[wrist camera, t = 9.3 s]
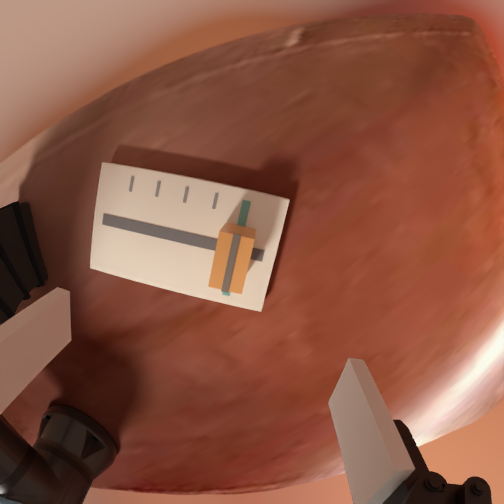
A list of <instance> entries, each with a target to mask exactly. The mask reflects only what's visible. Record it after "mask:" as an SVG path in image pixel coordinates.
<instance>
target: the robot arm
mask: <svg viewBox="0 0 504 504" xmlns="http://www.w3.org/2000/svg"><path fill="white" fill-rule="evenodd" d="M70 341H71V320H70V291H67V290H65V289H62V288H59V287H57V288H55V289H54V290H52V291H51V292H49V293H48V294H46V295H45V296H43V297H41V298H40V299H38V300H37V301H35V302H34V303H32V304H31V305H29V306H28V307H26V308H25V309H23V310H22V311H20V312H19V313H18V314H16V315H15V316H13V317H12V318H10V319H9V320H7V321H6V322H5V323H3V324H2V323H0V504H83V502H84V499H85V497H86V495H87V493H88V491H89V488H90V486H91V484H92V482H93V481H94V480H95V479H96V478H97V477H98V476H100V475H101V474H102V473H103V472H104V471H105V470H107V469H108V468H109V467H110V466H111V465H112V464H113V462H114V460H115V457H116V455H117V448H116V445H115V443H114V441H113V439H112V438H111V436H110V435H109V434H108V433H107V432H106V431H105V430H104V429H103V428H102V427H101V426H100V425H99V424H98V423H97V422H95V421H94V420H93V419H91V418H90V417H88V416H87V415H85V414H84V413H82V412H80V411H78V410H76V409H73V408H71V407H68V406H64V405H53V406H51V407H50V408H49V409H48V410H47V411H46V412H45V414H44V415H43V417H42V420H41V424H40V428H39V432H38V436H37V440H36V443H35V444H34V445H33V447H31V446H30V445H29V443H28V442H27V441H26V440H25V439H24V438H23V437H22V436H21V435H20V434H19V433H18V432H17V431H16V430H15V429H14V428H13V427H12V425H11V424H10V423H9V422H8V421H7V420H6V419H5V418H4V416H3V415H2V414H1V413H2V412H3V411H4V410H5V409H6V408H7V407H8V405H9V404H10V403H11V402H12V401H13V400H14V399H15V398H16V397H17V396H18V395H19V394H20V392H21V391H22V390H23V389H24V388H25V387H26V386H27V385H28V384H29V383H30V382H31V381H32V380H33V379H34V378H35V377H36V376H37V375H38V374H39V372H40V371H41V370H42V369H43V368H44V367H45V366H46V365H47V364H48V363H49V362H50V361H51V360H52V359H53V358H54V357H55V356H56V355H57V354H58V353H59V352H60V351H61V350H62V349H63V348H64V347H65V346H66V345H67V344H68V343H69V342H70ZM328 403H329V407H330V411H331V415H332V419H333V422H334V426H335V430H336V434H337V438H338V442H339V446H340V450H341V454H342V458H343V462H344V466H345V470H346V474H347V478H348V483H349V486H350V491H351V495H352V500H353V504H492V501H491V490H490V487H489V485H488V483H487V482H486V481H485V480H484V479H482V478H480V477H470V478H468V479H467V480H466V481H465V482H464V484H462V485H456V484H447V482H446V480H445V479H444V478H443V477H442V476H441V475H440V474H438V473H435V472H432V471H429V470H428V468H427V466H426V464H425V461H424V459H423V457H422V455H421V453H420V451H419V449H418V447H417V446H416V443H415V441H414V439H412V435H411V433H410V431H409V429H408V427H407V426H406V425H405V424H404V423H403V422H402V421H401V420H393V419H392V417H391V415H390V413H389V411H388V409H387V407H386V404H385V402H384V400H383V398H382V396H381V394H380V392H379V390H378V388H377V386H376V384H375V382H374V380H373V378H372V376H371V374H370V372H369V370H368V368H367V366H366V364H365V362H364V360H361V359H353V358H348V361H347V363H346V365H345V367H344V370H343V372H342V374H341V376H340V379H339V381H338V383H337V385H336V387H335V389H334V392H333V394H332V396H331V398H330V400H329V402H328Z"/></svg>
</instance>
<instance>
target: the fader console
mask: <svg viewBox="0 0 504 504" xmlns="http://www.w3.org/2000/svg"><path fill="white" fill-rule="evenodd" d="M289 201H290V200H289V199H288V198H284V197H280V196H276V195H272V194H267V193H263V192H259V191H255V190H250V189H246V188H241V187H237V186H232V185H228V184H223V183H218V182H214V181H209V180H204V179H199V178H194V177H189V176H184V175H179V174H173V173H168V172H163V171H157V170H152V169H146V168H140V167H135V166H129V165H122V164H116V163H107V162H102V166H101V172H100V178H99V185H98V192H97V199H96V207H95V215H94V224H93V234H92V246H91V259H90V268H92V269H95V270H98V271H102V272H105V273H109V274H112V275H116V276H119V277H123V278H126V279H130V280H134V281H137V282H141V283H145V284H148V285H152V286H156V287H160V288H163V289H167V290H171V291H175V292H179V293H183V294H187V295H191V296H195V297H199V298H203V299H207V300H212V301H216V302H220V303H224V304H229V305H233V306H237V307H242V308H246V309H251V310H255V311H260V312H261V310H262V306H263V302H264V299H265V295H266V291H267V287H268V284H269V280H270V276H271V272H272V268H273V264H274V260H275V257H276V253H277V249H278V245H279V241H280V237H281V233H282V229H283V225H284V221H285V217H286V213H287V209H288V205H289ZM226 222H227V223H232V224H236V225H240V226H245V227H249V228H253V229H256V233H255V241H254V245H253V249H252V253H251V257H250V262H249V266H248V270H247V274H246V279H245V283H244V287H243V291H242V294H238V293H233V292H229V291H228V293H226V292H222V291H221V289H216V288H212V287H208V285H209V279H210V274H211V269H212V264H213V259H214V254H215V249H216V245H217V240H218V235H219V231H220V229H221V228H222V227H223V225H224V224H225V223H226Z"/></svg>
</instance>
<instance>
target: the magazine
mask: <svg viewBox="0 0 504 504" xmlns="http://www.w3.org/2000/svg"><path fill="white" fill-rule="evenodd" d="M47 278H48V277H47V273H46V270H45V267H44V263H43V260H42V256H41V253H40V249H39V245H38V242H37V238H36V234H35V230H34V225H33V221H32V216H31V212H30V207H29V203H28V202H25V203H21V204H19V202H18V201H17V202H13V203H11V204H9V205H7V206H5V207H2V208H0V323H2V324H3V323H5V322H6V321H7V320H9V319H10V318H12V317H13V316H15V311H16V309H17V307H18V305H19V304H20V302H21V301H22V300H26V299H29V298H30V297H31V296H30V295H29V292H30V291H31V290H32V289H33V288H35V287H41V286H43V285H45V283H44V281H45V280H46V279H47Z"/></svg>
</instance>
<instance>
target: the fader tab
mask: <svg viewBox="0 0 504 504" xmlns="http://www.w3.org/2000/svg"><path fill="white" fill-rule="evenodd" d="M255 233H256V229H253V228H249V227H245V226H240V225H236V224H232V223H227V222H226V223H225V224H224V225H223V227H222V228H221V229H220V231H219V235H218V240H217V245H216V249H215V254H214V259H213V264H212V269H211V274H210V279H209V285H208V287H212V288H216V289H221V291H222V292H226V293H228V291H229V292H233V293H238V294H242V291H243V287H244V283H245V279H246V274H247V270H248V266H249V262H250V257H251V253H252V249H253V245H254V241H255Z"/></svg>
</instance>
